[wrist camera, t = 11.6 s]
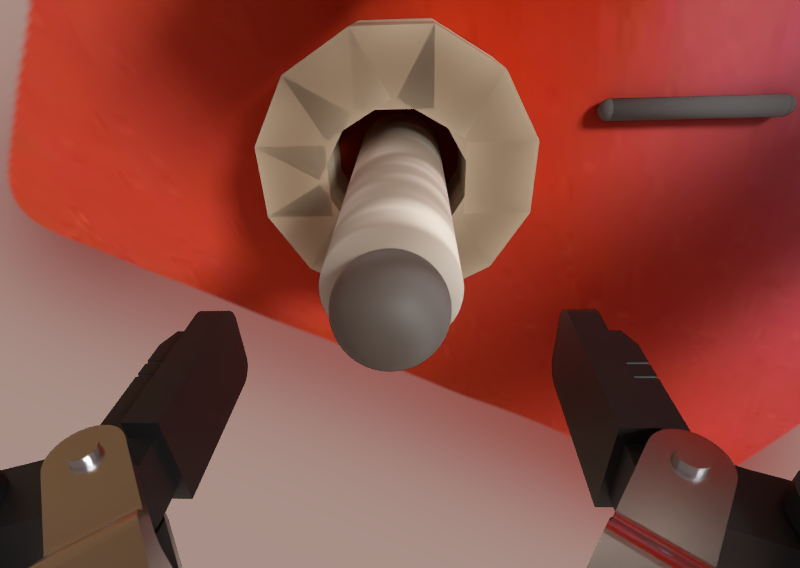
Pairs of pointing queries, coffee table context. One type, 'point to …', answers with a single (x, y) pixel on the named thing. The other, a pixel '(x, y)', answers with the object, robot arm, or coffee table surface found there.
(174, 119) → the coffee table surface
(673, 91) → the coffee table surface
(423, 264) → the grey tipped beige rod
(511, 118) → the bead
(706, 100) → the dark grey rod
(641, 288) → the coffee table surface
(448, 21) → the coffee table surface
